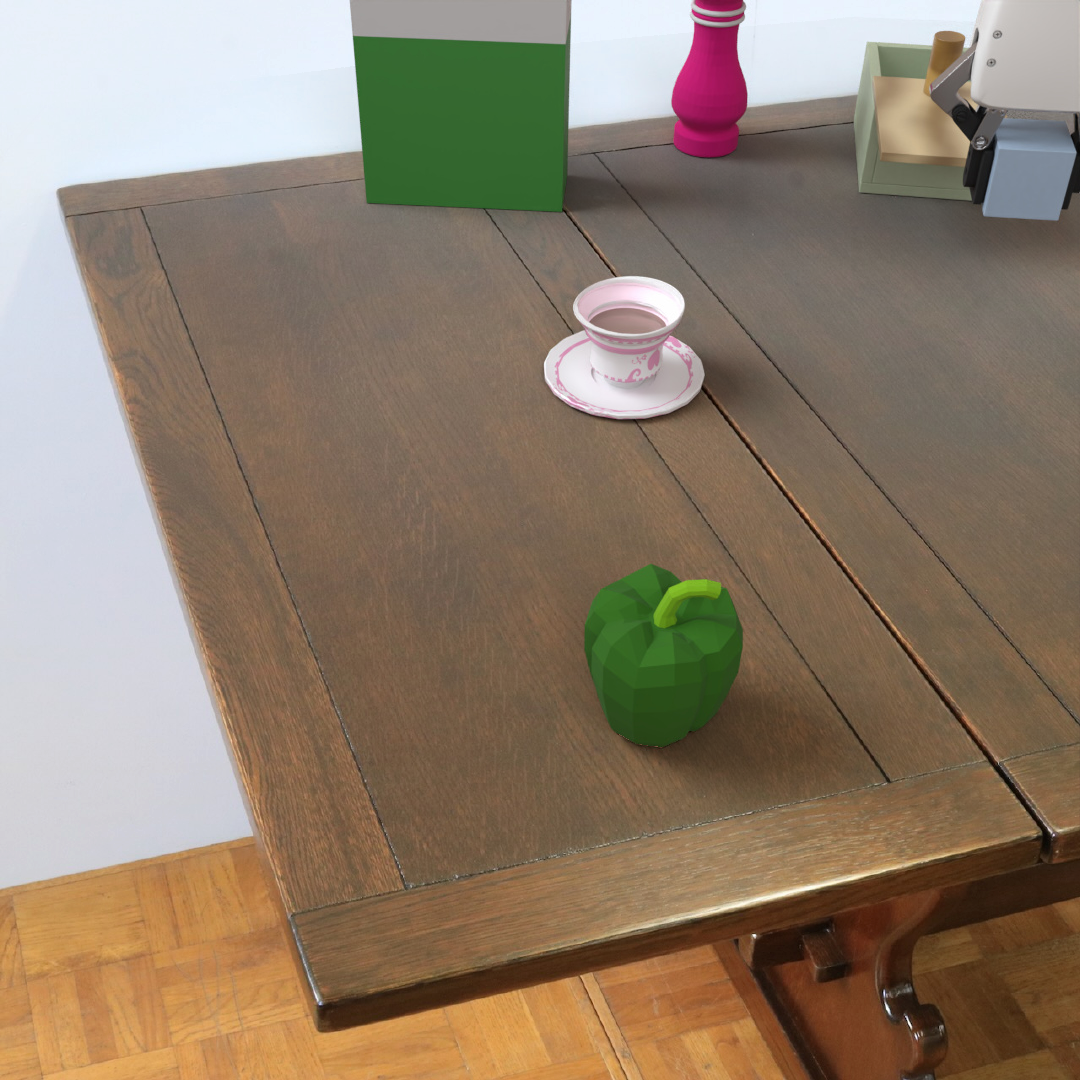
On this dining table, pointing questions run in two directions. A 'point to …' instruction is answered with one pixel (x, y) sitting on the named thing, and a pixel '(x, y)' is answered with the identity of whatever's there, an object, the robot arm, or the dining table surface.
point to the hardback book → (464, 101)
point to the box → (869, 167)
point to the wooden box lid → (921, 112)
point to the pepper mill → (711, 82)
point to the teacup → (625, 352)
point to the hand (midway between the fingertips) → (1017, 195)
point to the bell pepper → (662, 653)
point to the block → (1029, 169)
